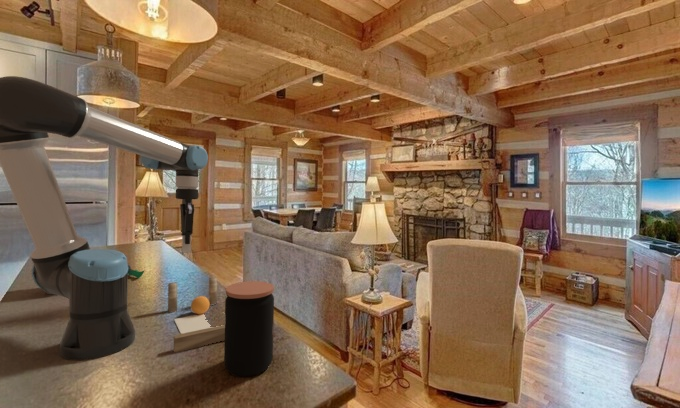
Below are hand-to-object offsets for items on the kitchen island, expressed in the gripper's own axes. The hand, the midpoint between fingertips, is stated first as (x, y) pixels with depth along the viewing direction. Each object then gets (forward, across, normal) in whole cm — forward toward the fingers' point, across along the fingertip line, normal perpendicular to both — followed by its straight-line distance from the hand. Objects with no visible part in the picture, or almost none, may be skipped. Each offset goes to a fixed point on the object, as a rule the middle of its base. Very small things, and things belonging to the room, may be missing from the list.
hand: (186, 252), depth 119 cm
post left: (+16, -13, +6) cm, 22 cm away
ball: (+14, -20, -1) cm, 24 cm away
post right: (+16, -13, -6) cm, 22 cm away
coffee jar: (+17, -58, -3) cm, 60 cm away
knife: (+17, +41, +15) cm, 47 cm away
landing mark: (+16, -28, 0) cm, 32 cm away
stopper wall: (+16, -42, 0) cm, 45 cm away
